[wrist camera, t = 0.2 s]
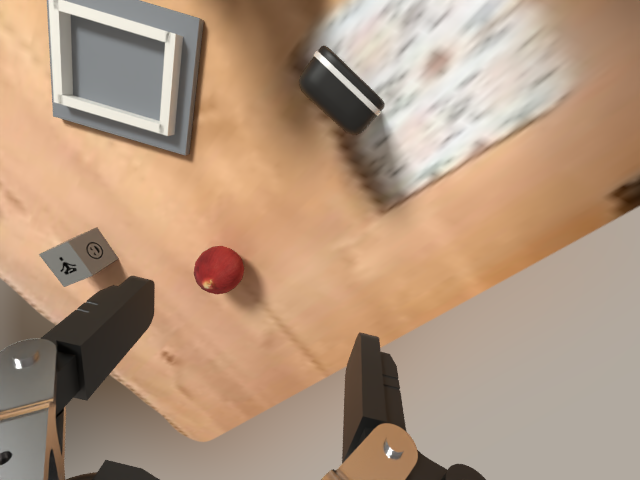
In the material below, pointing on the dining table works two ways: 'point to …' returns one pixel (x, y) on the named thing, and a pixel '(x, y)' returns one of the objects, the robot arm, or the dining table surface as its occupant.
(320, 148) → the dining table surface
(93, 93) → the dock
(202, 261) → the onion
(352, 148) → the dining table surface
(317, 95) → the battery charger
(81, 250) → the dice cube
